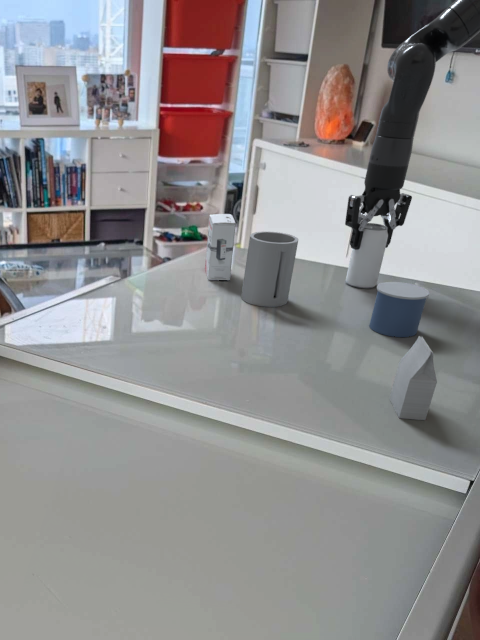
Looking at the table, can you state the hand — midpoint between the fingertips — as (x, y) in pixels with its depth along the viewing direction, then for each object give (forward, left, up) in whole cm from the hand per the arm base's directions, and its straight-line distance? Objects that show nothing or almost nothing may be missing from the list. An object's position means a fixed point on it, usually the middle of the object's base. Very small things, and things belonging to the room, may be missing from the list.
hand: (369, 247), depth 158 cm
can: (0, 0, -8) cm, 8 cm away
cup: (+26, +4, -8) cm, 27 cm away
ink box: (+28, -13, -8) cm, 32 cm away
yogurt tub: (+11, +25, -8) cm, 28 cm away
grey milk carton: (+31, +54, -8) cm, 63 cm away
